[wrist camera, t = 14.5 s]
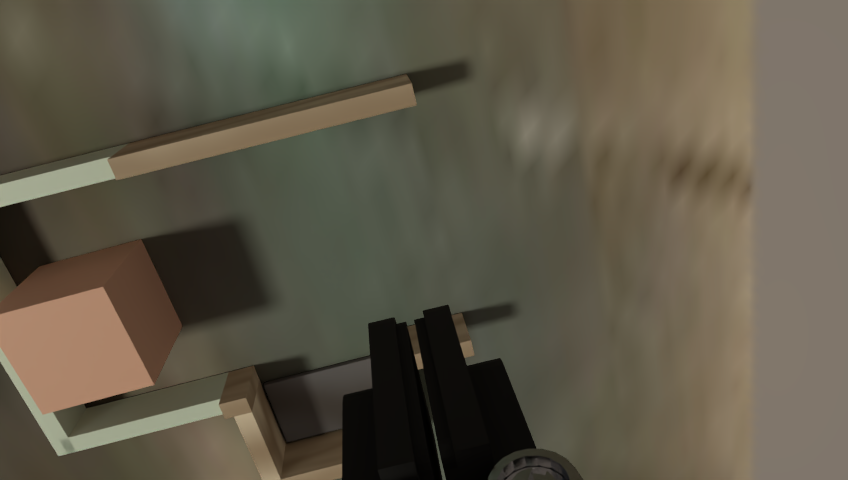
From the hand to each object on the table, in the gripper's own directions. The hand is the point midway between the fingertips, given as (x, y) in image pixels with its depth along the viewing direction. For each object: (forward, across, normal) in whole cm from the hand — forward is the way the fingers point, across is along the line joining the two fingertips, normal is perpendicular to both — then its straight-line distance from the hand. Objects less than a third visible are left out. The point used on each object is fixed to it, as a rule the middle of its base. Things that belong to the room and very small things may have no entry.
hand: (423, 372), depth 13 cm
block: (+20, +16, +6) cm, 27 cm away
